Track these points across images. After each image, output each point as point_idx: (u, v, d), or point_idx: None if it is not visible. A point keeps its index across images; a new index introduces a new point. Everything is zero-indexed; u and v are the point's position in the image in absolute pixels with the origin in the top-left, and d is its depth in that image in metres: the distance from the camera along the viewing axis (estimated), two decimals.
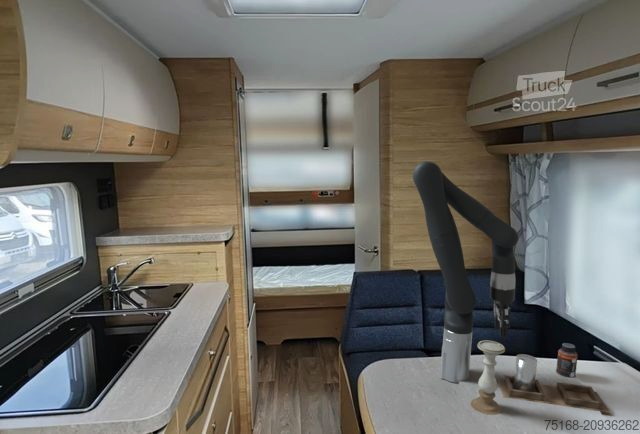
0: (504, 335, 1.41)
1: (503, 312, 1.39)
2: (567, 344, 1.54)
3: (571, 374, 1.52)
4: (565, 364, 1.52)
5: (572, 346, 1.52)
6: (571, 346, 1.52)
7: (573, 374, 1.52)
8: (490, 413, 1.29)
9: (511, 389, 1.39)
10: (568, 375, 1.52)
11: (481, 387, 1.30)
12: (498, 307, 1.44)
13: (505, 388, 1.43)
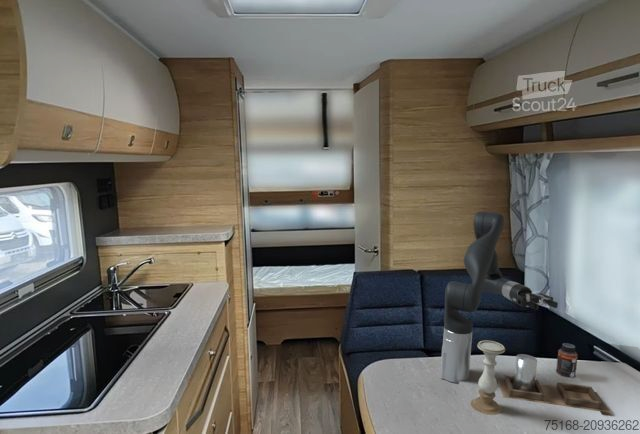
0: None
1: None
2: (567, 344, 1.54)
3: (571, 374, 1.52)
4: (565, 364, 1.52)
5: (572, 346, 1.52)
6: (571, 346, 1.52)
7: (573, 374, 1.52)
8: (490, 413, 1.29)
9: (511, 389, 1.39)
10: (568, 375, 1.52)
11: (481, 387, 1.30)
12: None
13: (505, 388, 1.43)
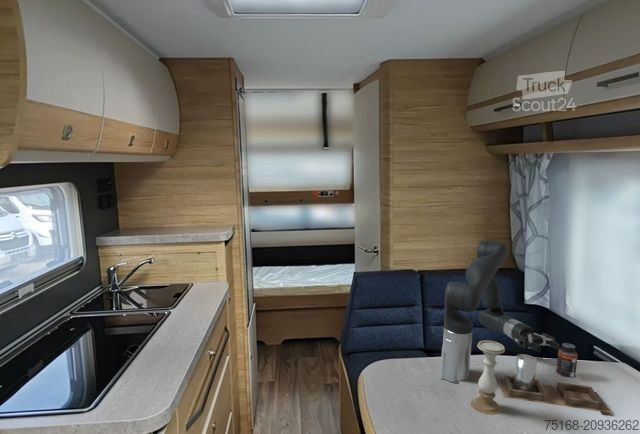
0: None
1: None
2: (567, 344, 1.54)
3: (571, 374, 1.52)
4: (565, 364, 1.52)
5: (572, 346, 1.52)
6: (571, 346, 1.52)
7: (573, 374, 1.52)
8: (490, 413, 1.29)
9: (511, 389, 1.39)
10: (568, 375, 1.52)
11: (481, 387, 1.30)
12: None
13: (505, 388, 1.43)
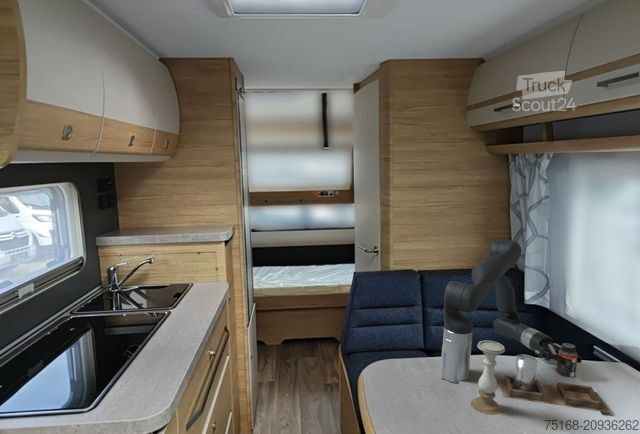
0: None
1: None
2: (567, 344, 1.54)
3: (571, 374, 1.52)
4: None
5: (572, 346, 1.52)
6: (571, 346, 1.52)
7: (573, 374, 1.52)
8: (490, 413, 1.29)
9: (511, 389, 1.39)
10: (568, 375, 1.52)
11: (481, 387, 1.30)
12: None
13: (505, 388, 1.43)
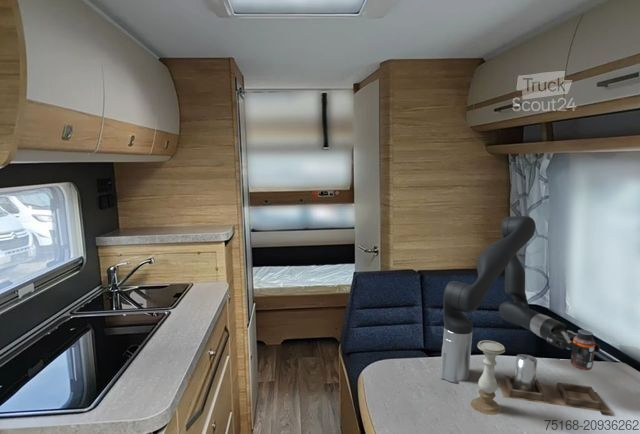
0: None
1: None
2: (583, 331, 1.37)
3: (589, 364, 1.35)
4: None
5: (589, 333, 1.35)
6: (588, 333, 1.35)
7: (590, 364, 1.35)
8: (490, 413, 1.29)
9: (511, 389, 1.39)
10: (585, 365, 1.35)
11: (481, 387, 1.30)
12: None
13: (505, 388, 1.43)
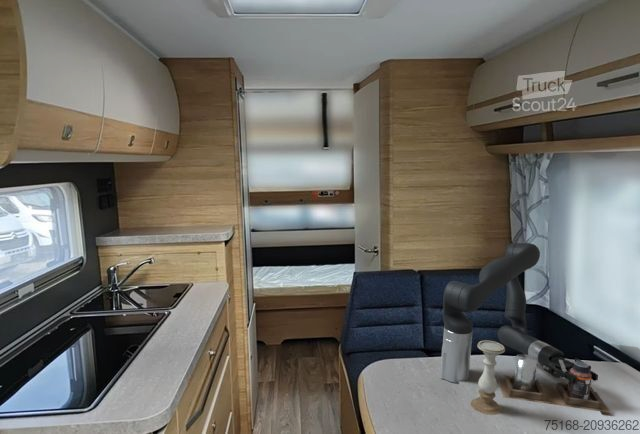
0: None
1: None
2: (580, 363, 1.38)
3: (585, 397, 1.35)
4: (578, 386, 1.36)
5: (585, 365, 1.36)
6: (584, 365, 1.36)
7: (587, 397, 1.36)
8: (490, 413, 1.29)
9: (511, 389, 1.39)
10: (581, 398, 1.35)
11: (481, 387, 1.30)
12: None
13: (505, 388, 1.43)
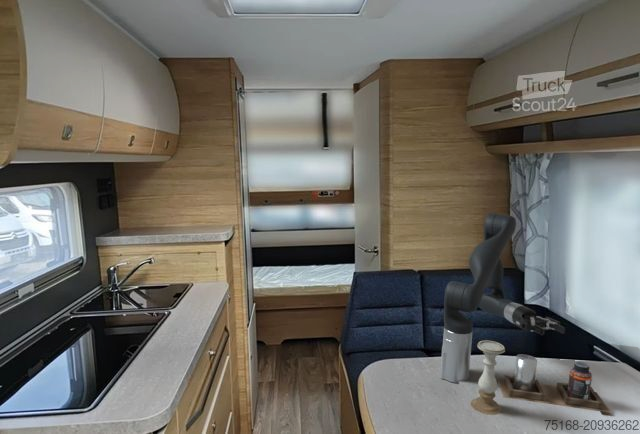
0: None
1: None
2: (580, 363, 1.38)
3: (585, 397, 1.35)
4: (578, 386, 1.35)
5: (586, 365, 1.36)
6: (584, 365, 1.36)
7: (587, 397, 1.36)
8: (490, 413, 1.29)
9: (511, 389, 1.39)
10: (581, 398, 1.35)
11: (481, 387, 1.30)
12: None
13: (505, 388, 1.43)
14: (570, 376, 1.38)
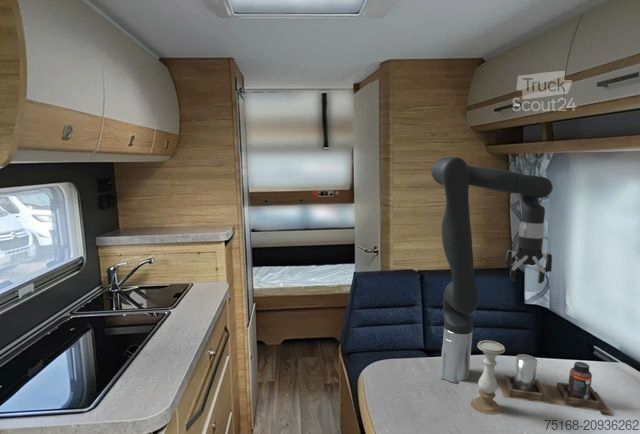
0: None
1: None
2: (580, 363, 1.38)
3: (585, 397, 1.35)
4: (578, 386, 1.36)
5: (586, 365, 1.36)
6: (585, 365, 1.36)
7: (587, 397, 1.36)
8: (490, 413, 1.29)
9: (511, 389, 1.39)
10: (581, 398, 1.35)
11: (481, 387, 1.30)
12: (535, 256, 1.49)
13: (505, 388, 1.43)
14: (570, 376, 1.38)
